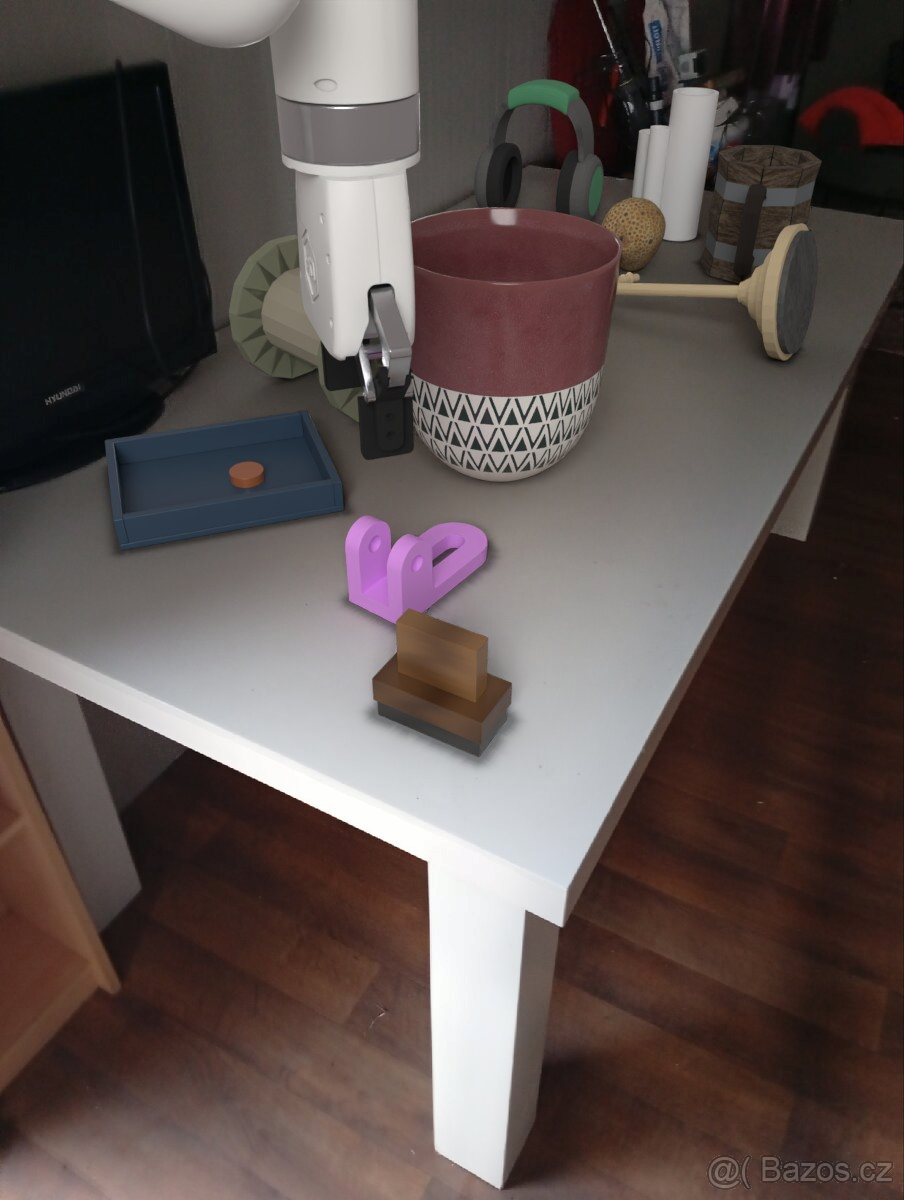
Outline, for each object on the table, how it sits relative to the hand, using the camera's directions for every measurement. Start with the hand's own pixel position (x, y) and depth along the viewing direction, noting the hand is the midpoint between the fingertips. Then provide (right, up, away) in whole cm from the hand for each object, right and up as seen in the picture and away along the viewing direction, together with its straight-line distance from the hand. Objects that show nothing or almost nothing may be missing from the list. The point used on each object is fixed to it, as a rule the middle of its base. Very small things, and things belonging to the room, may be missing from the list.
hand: (366, 418), depth 61 cm
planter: (+10, +1, +32) cm, 33 cm away
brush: (+5, -20, +4) cm, 21 cm away
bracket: (+3, -10, +17) cm, 20 cm away
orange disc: (-14, 0, +28) cm, 31 cm away
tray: (-16, -1, +28) cm, 32 cm away
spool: (-7, +11, +44) cm, 46 cm away
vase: (+38, +46, +88) cm, 106 cm away
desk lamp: (+25, +19, +54) cm, 63 cm away
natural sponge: (+31, +35, +74) cm, 88 cm away
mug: (+47, +34, +73) cm, 93 cm away
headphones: (+19, +50, +93) cm, 107 cm away
